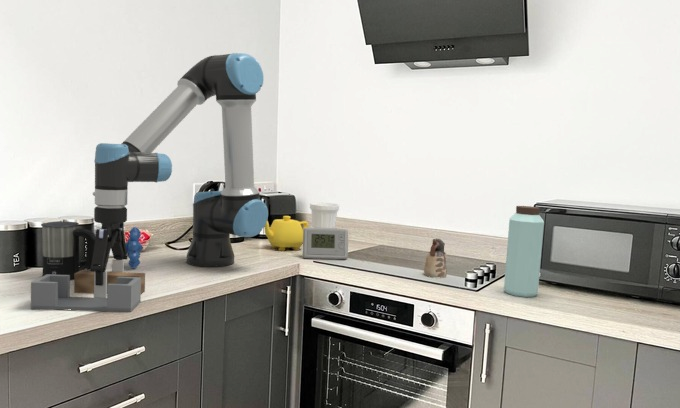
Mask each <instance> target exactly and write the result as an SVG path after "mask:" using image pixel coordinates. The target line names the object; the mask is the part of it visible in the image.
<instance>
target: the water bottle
mask: <svg viewBox="0 0 680 408" xmlns="http://www.w3.org/2000/svg"><path fill="white" fill-rule="evenodd" d="M515 209H516V210H515V213H513V215H512V216H510V218H509V223H508V235H507V245H506V246H507V248H506V259H505V268H504V269H505V271H504V284H503V285H504V286H503V290H504V291H505V293H506V294H508V295H511V296H514V297H521V298H531V297H536V295H537V294H538V293H539V284H540V283H539V282H540V272H541V262H542V261H541V259H542V249H543V238H544V227H545V226H544V225H545V222H544V219H543V218H542V217H541V215H540V207H537V206H531V205H529V206H528V205H527V206H526V205H516V207H515Z"/></svg>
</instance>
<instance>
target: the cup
mask: <svg viewBox="0 0 680 408" xmlns="http://www.w3.org/2000/svg"><path fill="white" fill-rule="evenodd" d="M309 209H310V210H311V224H312V227H311V228H336V221H337V217H338V212H339V210H340V204H338V203H331V202H311V203H309Z"/></svg>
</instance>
